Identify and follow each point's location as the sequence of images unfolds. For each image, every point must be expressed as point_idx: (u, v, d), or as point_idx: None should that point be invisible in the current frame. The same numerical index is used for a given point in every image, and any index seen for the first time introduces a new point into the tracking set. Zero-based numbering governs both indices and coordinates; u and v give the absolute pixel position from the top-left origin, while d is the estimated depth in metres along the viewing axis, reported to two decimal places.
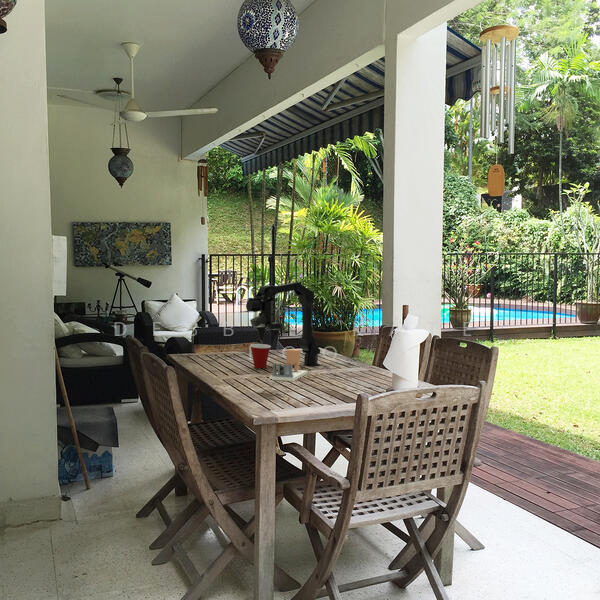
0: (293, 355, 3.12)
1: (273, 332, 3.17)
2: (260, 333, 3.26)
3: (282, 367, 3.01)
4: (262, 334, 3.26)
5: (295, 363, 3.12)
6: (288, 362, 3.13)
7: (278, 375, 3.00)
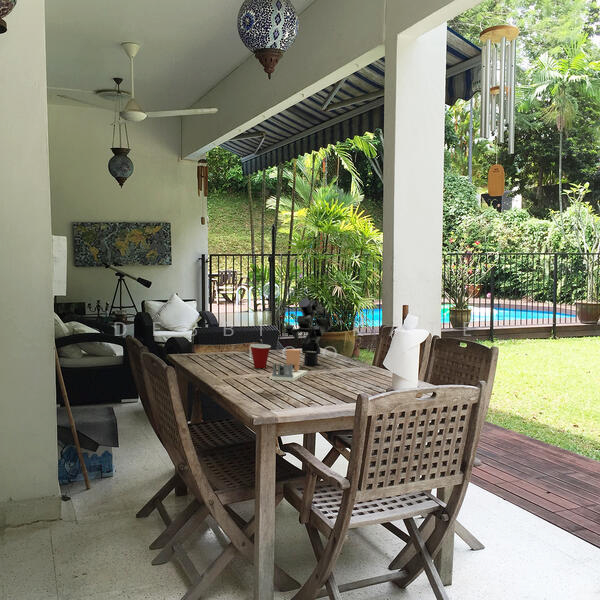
0: (293, 355, 3.12)
1: (310, 336, 3.25)
2: (296, 337, 3.26)
3: (282, 367, 3.01)
4: (297, 339, 3.26)
5: (295, 363, 3.12)
6: (288, 362, 3.13)
7: (278, 375, 3.00)
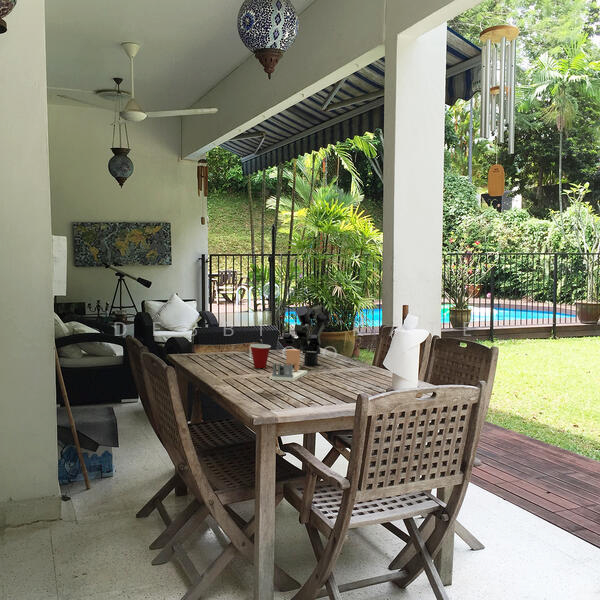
0: (293, 355, 3.12)
1: (303, 344, 3.22)
2: (298, 346, 3.22)
3: (282, 367, 3.01)
4: None
5: (295, 363, 3.12)
6: (288, 362, 3.13)
7: (278, 375, 3.00)
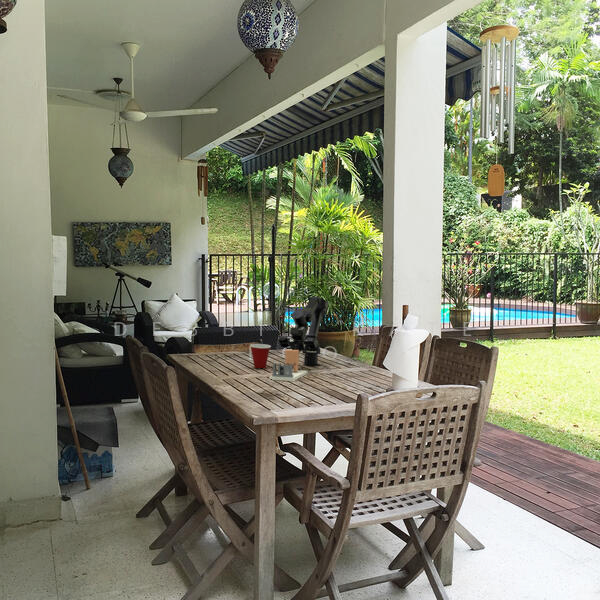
0: (292, 356, 3.10)
1: (298, 348, 3.17)
2: (294, 349, 3.16)
3: (282, 367, 3.01)
4: None
5: (294, 363, 3.10)
6: (287, 362, 3.11)
7: (278, 375, 3.00)
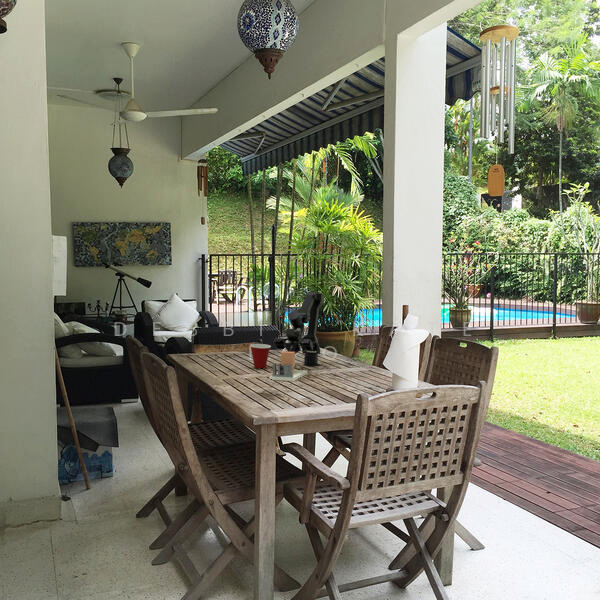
0: (287, 358, 3.05)
1: (294, 349, 3.11)
2: (290, 351, 3.10)
3: (282, 367, 3.01)
4: None
5: None
6: (283, 364, 3.06)
7: (278, 375, 3.00)
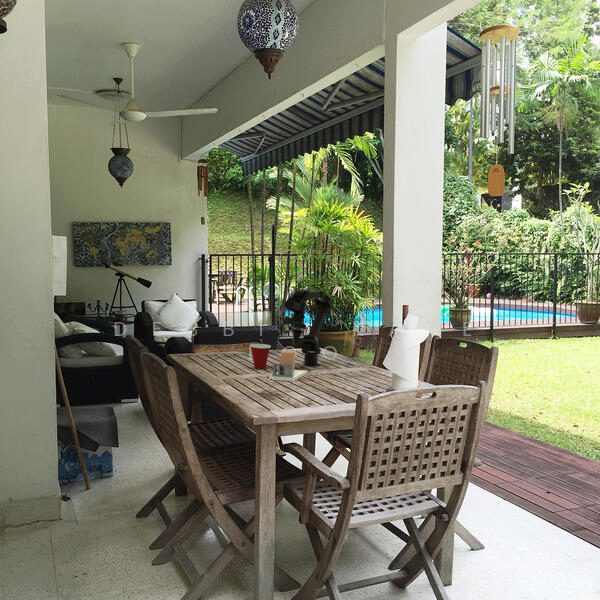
0: (288, 358, 3.05)
1: (297, 333, 3.25)
2: None
3: (282, 367, 3.01)
4: None
5: None
6: (283, 364, 3.06)
7: (278, 375, 3.00)
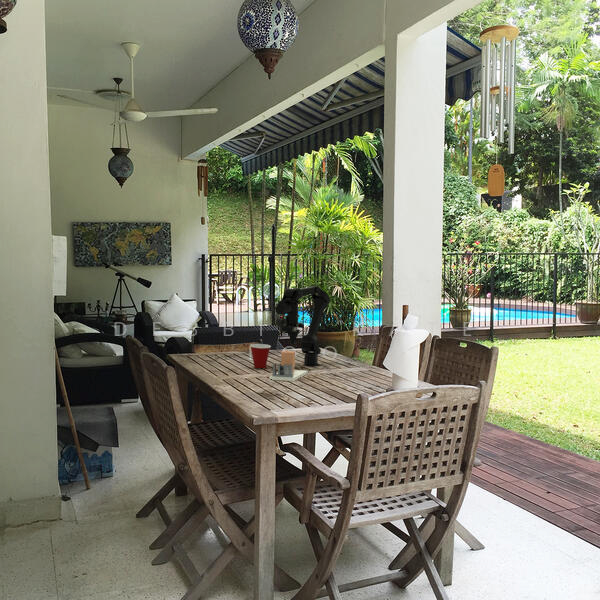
0: (288, 358, 3.05)
1: (292, 333, 3.25)
2: None
3: (282, 367, 3.01)
4: None
5: None
6: (283, 364, 3.06)
7: (278, 375, 3.00)
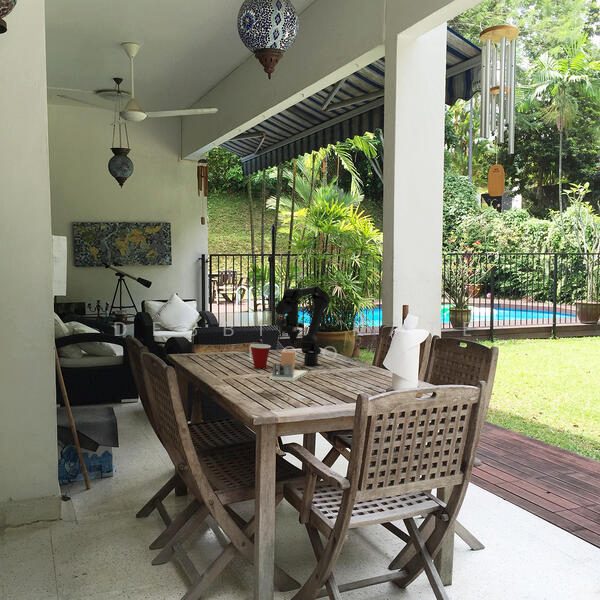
0: (288, 358, 3.05)
1: (292, 333, 3.25)
2: None
3: (282, 367, 3.01)
4: None
5: None
6: (283, 364, 3.06)
7: (278, 375, 3.00)
